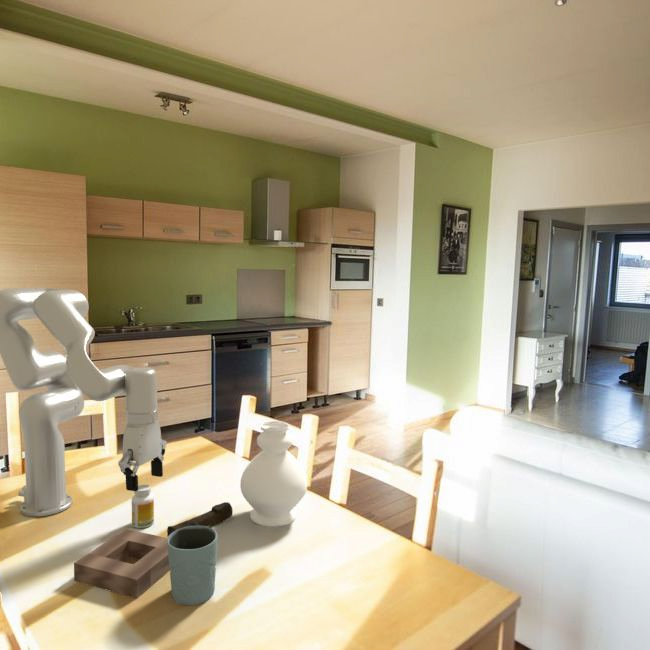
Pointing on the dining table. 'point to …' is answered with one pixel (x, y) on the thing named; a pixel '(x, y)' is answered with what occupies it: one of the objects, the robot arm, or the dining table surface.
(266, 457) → the decorative vase
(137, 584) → the collar block
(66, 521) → the dining table surface
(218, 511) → the hand tool
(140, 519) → the supplement bottle
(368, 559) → the dining table surface
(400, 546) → the dining table surface
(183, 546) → the blue grey cup
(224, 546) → the dining table surface
